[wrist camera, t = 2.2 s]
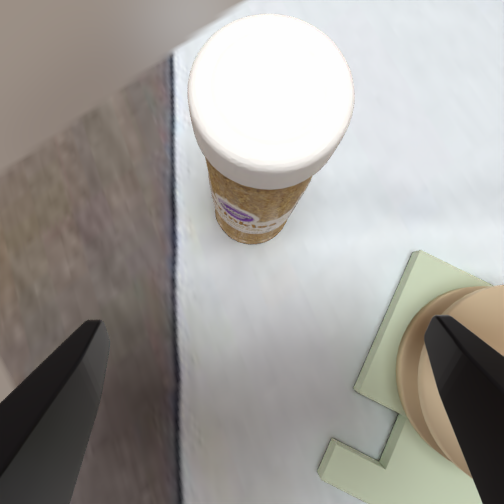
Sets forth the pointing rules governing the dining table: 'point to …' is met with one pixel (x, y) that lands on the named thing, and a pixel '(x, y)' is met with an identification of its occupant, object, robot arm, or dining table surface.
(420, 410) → the bobbin
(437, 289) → the notched board
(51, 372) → the robot arm
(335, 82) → the sprinkles bottle
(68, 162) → the dining table surface
